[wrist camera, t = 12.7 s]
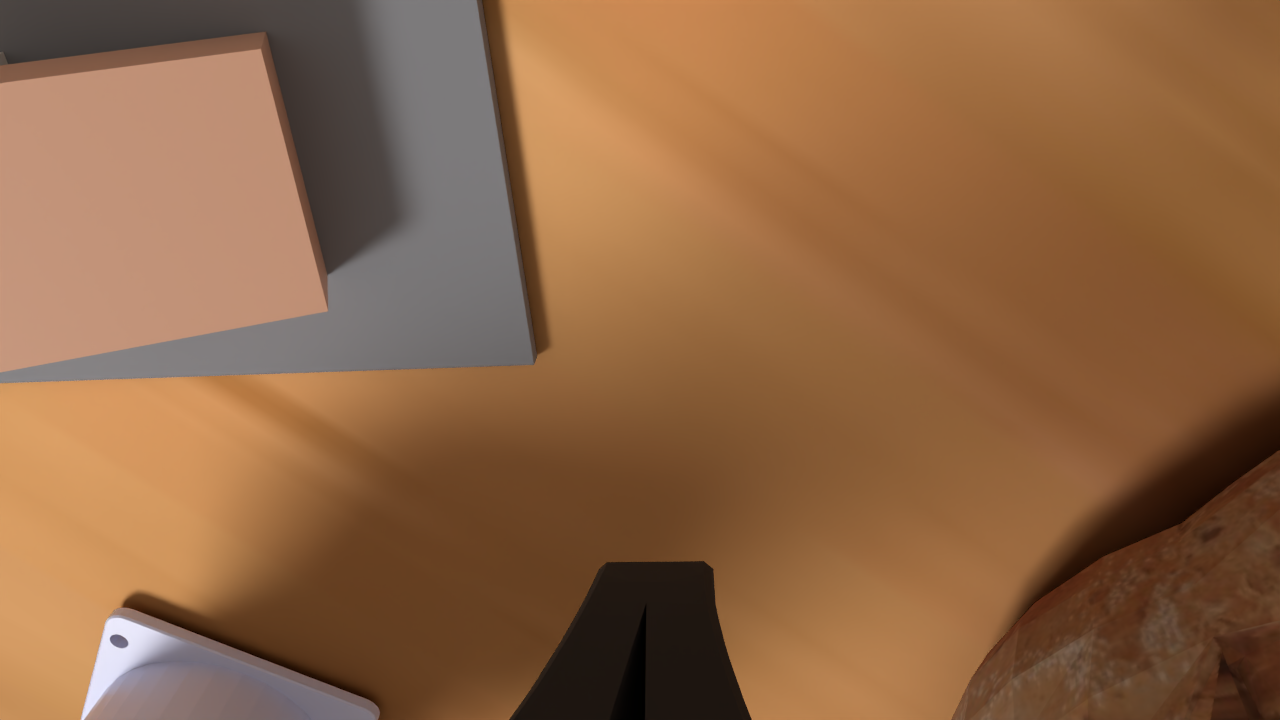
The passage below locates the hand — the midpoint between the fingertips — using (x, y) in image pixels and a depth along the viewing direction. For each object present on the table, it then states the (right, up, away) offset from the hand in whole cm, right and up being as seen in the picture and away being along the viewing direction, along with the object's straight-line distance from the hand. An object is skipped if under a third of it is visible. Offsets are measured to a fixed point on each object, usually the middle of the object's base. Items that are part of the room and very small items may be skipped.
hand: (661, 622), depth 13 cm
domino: (-7, +7, +7) cm, 12 cm away
